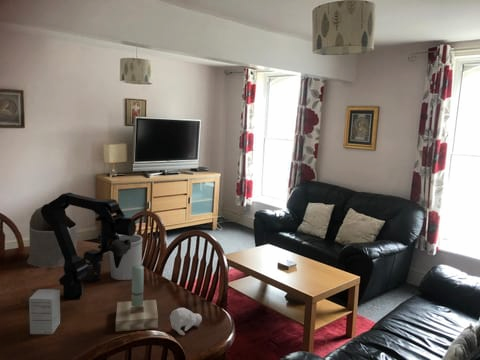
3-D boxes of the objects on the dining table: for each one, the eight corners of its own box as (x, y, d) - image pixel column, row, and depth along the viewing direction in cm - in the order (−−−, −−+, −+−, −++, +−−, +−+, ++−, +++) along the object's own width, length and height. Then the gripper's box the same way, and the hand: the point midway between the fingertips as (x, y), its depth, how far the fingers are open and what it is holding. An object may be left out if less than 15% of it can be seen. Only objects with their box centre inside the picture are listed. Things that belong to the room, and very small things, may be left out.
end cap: (74, 277, 172) (74, 263, 171) (89, 273, 177) (89, 259, 176) (86, 284, 165) (86, 269, 164) (101, 280, 171) (101, 265, 170)
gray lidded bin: (67, 248, 208) (67, 203, 205) (94, 265, 187) (94, 215, 183) (20, 257, 192) (19, 208, 188) (44, 277, 170) (43, 222, 167)
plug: (131, 307, 135) (131, 269, 133) (131, 301, 139) (131, 265, 137) (143, 306, 136) (144, 269, 134) (143, 301, 140) (144, 264, 138)
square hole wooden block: (115, 332, 130) (115, 321, 129) (117, 312, 143) (117, 302, 143) (157, 328, 134) (157, 317, 133) (155, 309, 147) (155, 299, 146)
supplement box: (38, 322, 133) (38, 288, 131) (60, 323, 134) (60, 289, 132) (29, 334, 126) (28, 298, 124) (52, 334, 126) (51, 298, 124)
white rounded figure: (169, 306, 132) (197, 300, 140) (166, 330, 133) (194, 323, 141) (178, 314, 127) (207, 307, 135) (175, 338, 128) (204, 330, 136)
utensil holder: (110, 282, 168) (110, 244, 166) (107, 270, 182) (107, 234, 179) (144, 279, 174) (145, 242, 172) (139, 267, 188) (139, 232, 185)
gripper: (104, 242, 134) (104, 284, 136) (141, 231, 150) (140, 268, 153) (82, 236, 139) (82, 277, 141) (120, 226, 155) (119, 262, 158)
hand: (108, 271), depth 148 cm, fingers open, 9 cm apart
